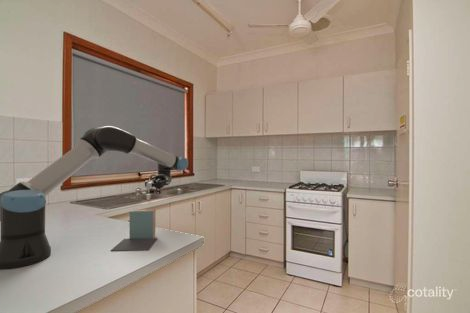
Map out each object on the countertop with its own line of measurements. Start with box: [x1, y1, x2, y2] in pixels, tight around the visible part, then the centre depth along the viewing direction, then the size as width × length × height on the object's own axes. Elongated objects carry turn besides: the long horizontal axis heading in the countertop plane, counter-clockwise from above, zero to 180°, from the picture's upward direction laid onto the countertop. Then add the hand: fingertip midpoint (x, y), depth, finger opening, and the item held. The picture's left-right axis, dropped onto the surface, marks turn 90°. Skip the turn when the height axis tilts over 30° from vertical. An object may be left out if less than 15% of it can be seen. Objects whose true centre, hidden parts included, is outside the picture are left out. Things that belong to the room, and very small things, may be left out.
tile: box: [128, 208, 157, 239], centre depth 106 cm, size 4×10×12 cm, turn 94°
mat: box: [110, 237, 158, 252], centre depth 97 cm, size 13×14×1 cm
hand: (148, 185), depth 114 cm, fingers closed
